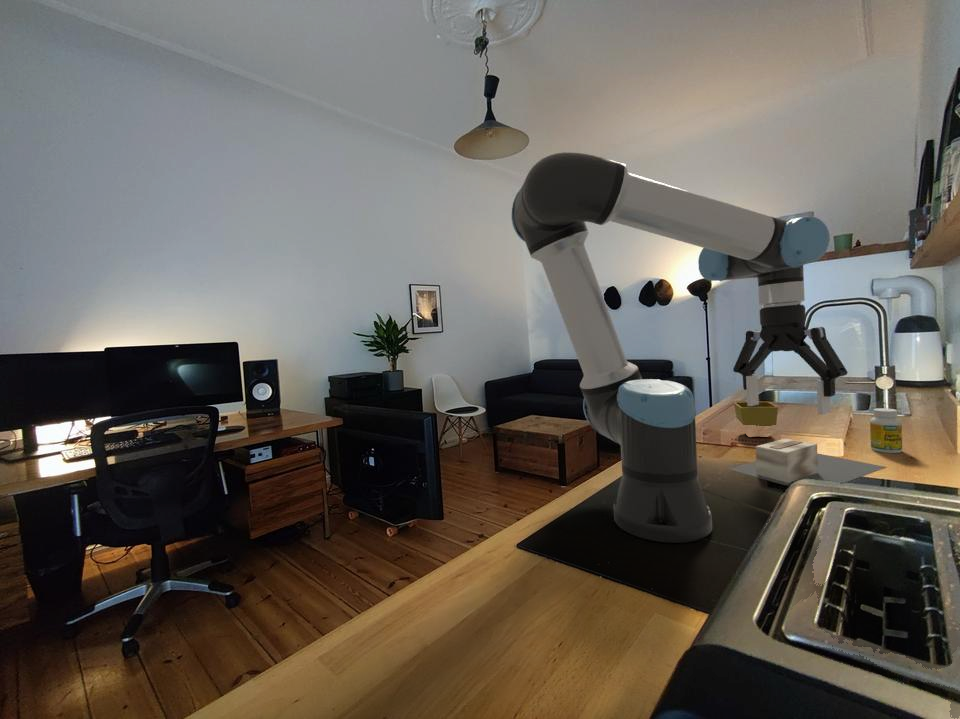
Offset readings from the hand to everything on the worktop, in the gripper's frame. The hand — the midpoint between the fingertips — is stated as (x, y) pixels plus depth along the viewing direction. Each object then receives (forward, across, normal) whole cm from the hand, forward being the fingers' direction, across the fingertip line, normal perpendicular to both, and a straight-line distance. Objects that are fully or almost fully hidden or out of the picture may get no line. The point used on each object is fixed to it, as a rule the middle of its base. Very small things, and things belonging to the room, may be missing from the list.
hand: (786, 409), depth 86 cm
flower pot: (+14, +23, -25) cm, 36 cm away
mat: (+14, 0, -6) cm, 15 cm away
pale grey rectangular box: (+14, 0, 0) cm, 14 cm away
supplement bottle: (+14, -2, -33) cm, 36 cm away
